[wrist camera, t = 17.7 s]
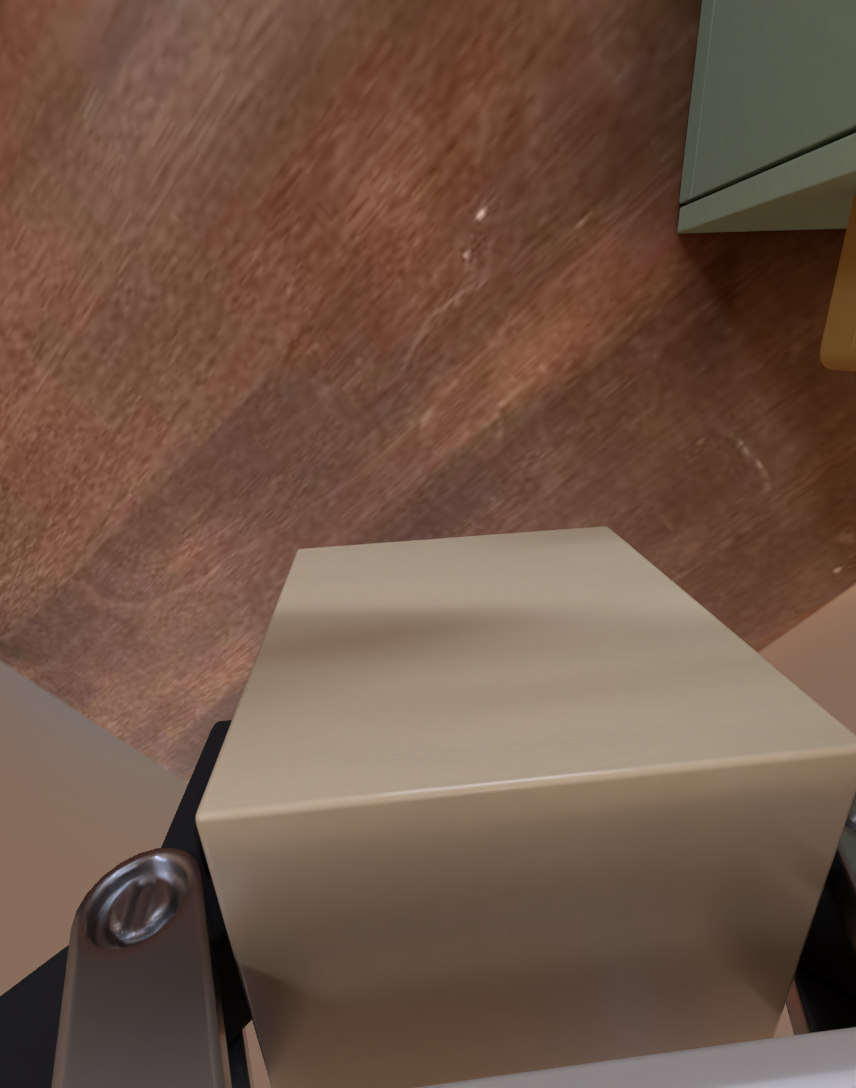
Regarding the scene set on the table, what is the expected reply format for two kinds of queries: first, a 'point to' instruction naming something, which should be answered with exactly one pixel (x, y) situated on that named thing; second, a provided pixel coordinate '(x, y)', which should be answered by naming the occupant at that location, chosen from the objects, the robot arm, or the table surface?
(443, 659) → the block
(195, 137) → the table surface
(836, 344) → the cupboard door
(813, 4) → the cupboard
